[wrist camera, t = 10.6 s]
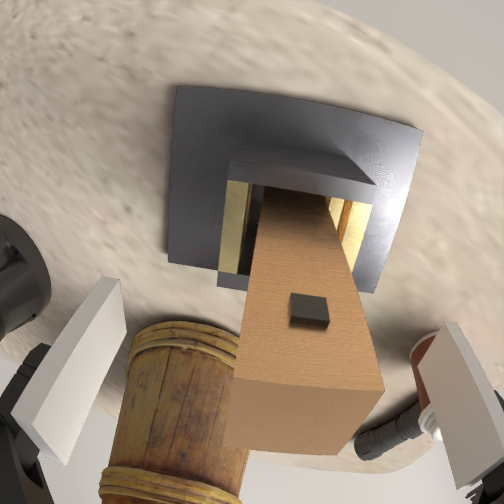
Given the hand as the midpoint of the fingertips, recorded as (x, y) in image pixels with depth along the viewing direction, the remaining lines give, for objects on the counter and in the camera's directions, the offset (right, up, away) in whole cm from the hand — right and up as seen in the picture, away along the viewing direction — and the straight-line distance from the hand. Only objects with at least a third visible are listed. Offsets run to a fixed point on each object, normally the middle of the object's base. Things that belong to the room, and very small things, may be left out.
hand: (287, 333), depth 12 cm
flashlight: (+22, -23, +31) cm, 44 cm away
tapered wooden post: (+2, +8, +14) cm, 16 cm away
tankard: (-9, -14, +28) cm, 33 cm away
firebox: (+2, +8, +15) cm, 17 cm away
